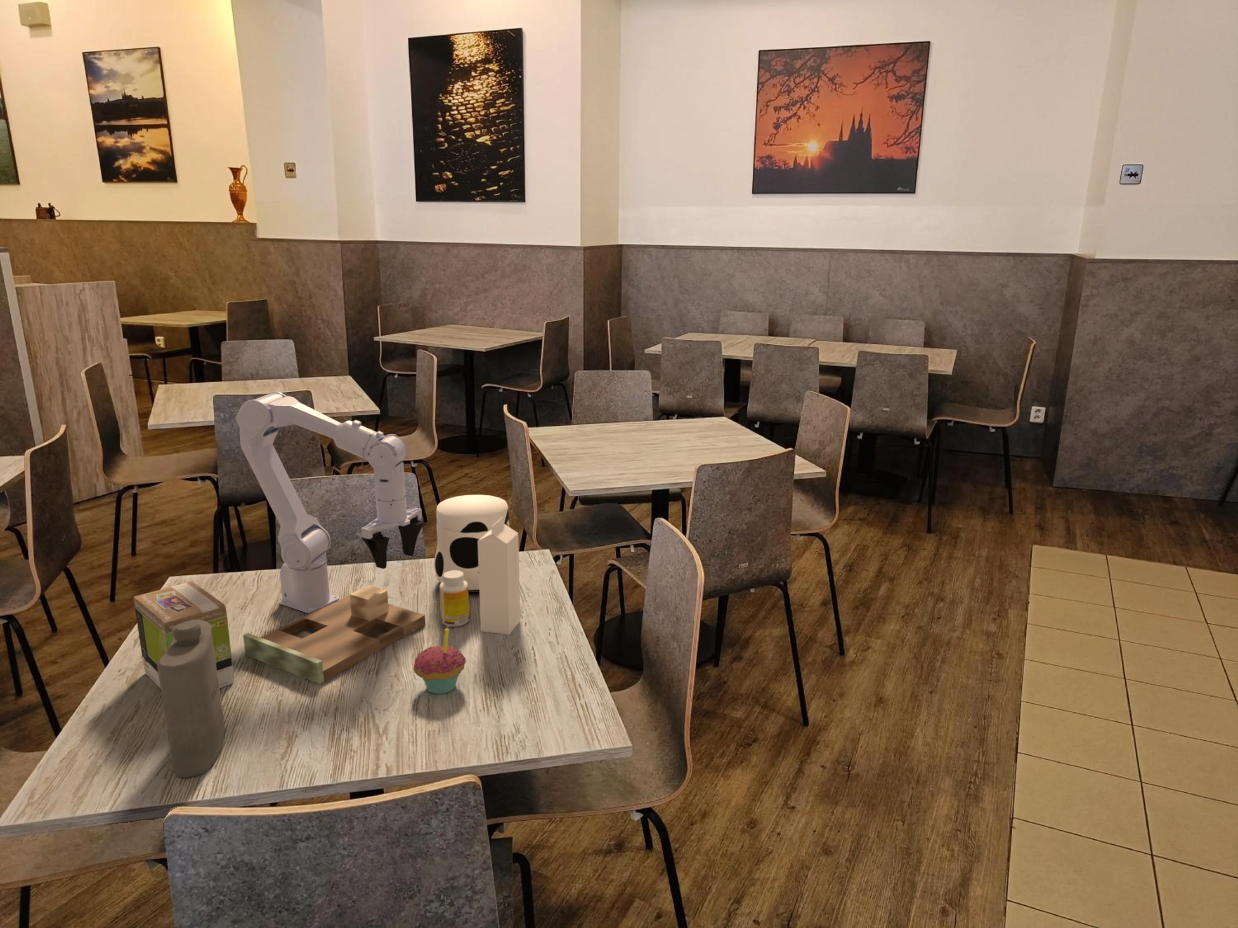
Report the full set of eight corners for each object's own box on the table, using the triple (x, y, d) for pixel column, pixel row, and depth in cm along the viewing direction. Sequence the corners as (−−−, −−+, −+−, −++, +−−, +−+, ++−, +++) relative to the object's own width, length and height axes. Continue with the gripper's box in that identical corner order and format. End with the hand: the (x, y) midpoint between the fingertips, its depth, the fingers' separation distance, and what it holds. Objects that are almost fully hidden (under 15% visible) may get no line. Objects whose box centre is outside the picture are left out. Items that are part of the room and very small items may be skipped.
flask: (216, 774, 115) (198, 647, 110) (170, 781, 113) (150, 653, 108) (230, 716, 129) (215, 601, 123) (189, 722, 127) (172, 606, 122)
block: (351, 615, 159) (349, 594, 158) (370, 605, 163) (368, 584, 162) (369, 621, 157) (368, 599, 155) (388, 611, 161) (387, 590, 160)
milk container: (450, 564, 189) (447, 491, 184) (522, 569, 187) (521, 495, 182) (423, 595, 173) (419, 516, 168) (502, 601, 170) (499, 520, 166)
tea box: (237, 683, 138) (227, 603, 134) (174, 706, 131) (162, 623, 127) (203, 652, 148) (192, 578, 144) (142, 673, 141) (130, 595, 137)
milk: (480, 631, 157) (475, 525, 151) (492, 617, 163) (488, 514, 157) (510, 635, 156) (506, 527, 150) (521, 621, 162) (517, 517, 156)
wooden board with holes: (245, 654, 148) (243, 634, 146) (355, 601, 169) (353, 584, 168) (319, 684, 138) (317, 663, 137) (425, 624, 160) (424, 605, 159)
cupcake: (475, 679, 140) (472, 616, 137) (449, 704, 133) (446, 638, 129) (432, 670, 143) (428, 608, 140) (404, 694, 135) (400, 629, 132)
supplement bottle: (474, 622, 161) (472, 575, 158) (449, 630, 158) (447, 582, 155) (461, 612, 165) (459, 566, 162) (436, 620, 162) (433, 573, 159)
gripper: (378, 510, 152) (383, 577, 156) (431, 490, 164) (434, 553, 168) (351, 504, 156) (357, 569, 159) (405, 485, 168) (409, 546, 171)
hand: (395, 561), depth 164 cm, fingers open, 7 cm apart
